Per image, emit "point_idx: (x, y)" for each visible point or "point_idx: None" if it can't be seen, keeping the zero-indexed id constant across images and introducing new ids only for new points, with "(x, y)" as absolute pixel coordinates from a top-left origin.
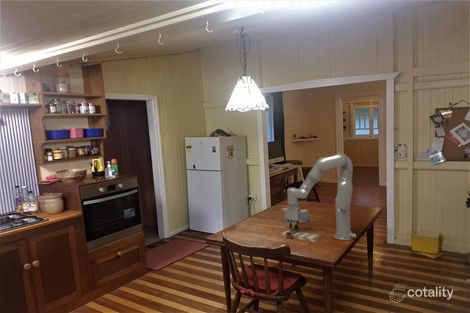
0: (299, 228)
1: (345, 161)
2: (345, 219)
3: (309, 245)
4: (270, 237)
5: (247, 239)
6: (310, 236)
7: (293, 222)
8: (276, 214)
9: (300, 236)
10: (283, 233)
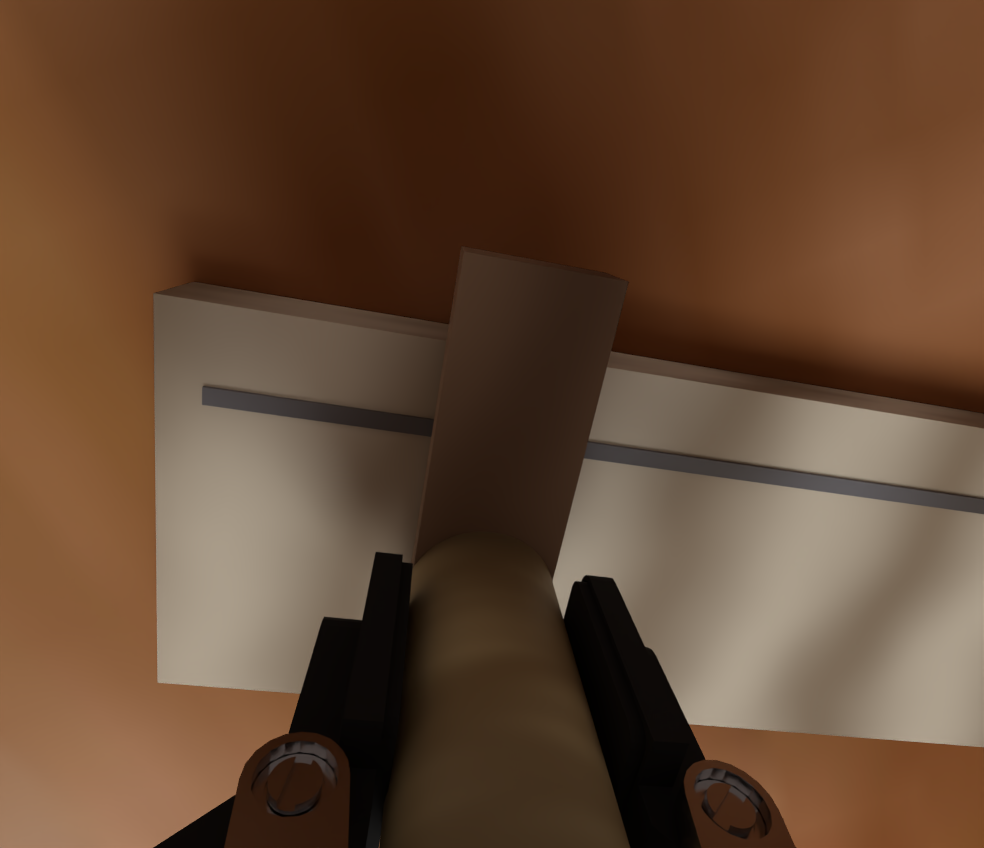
0: (604, 339)
1: None
2: None
3: (886, 842)
4: (15, 799)
5: None
6: (944, 633)
7: None
8: None
9: (710, 713)
10: (216, 686)
